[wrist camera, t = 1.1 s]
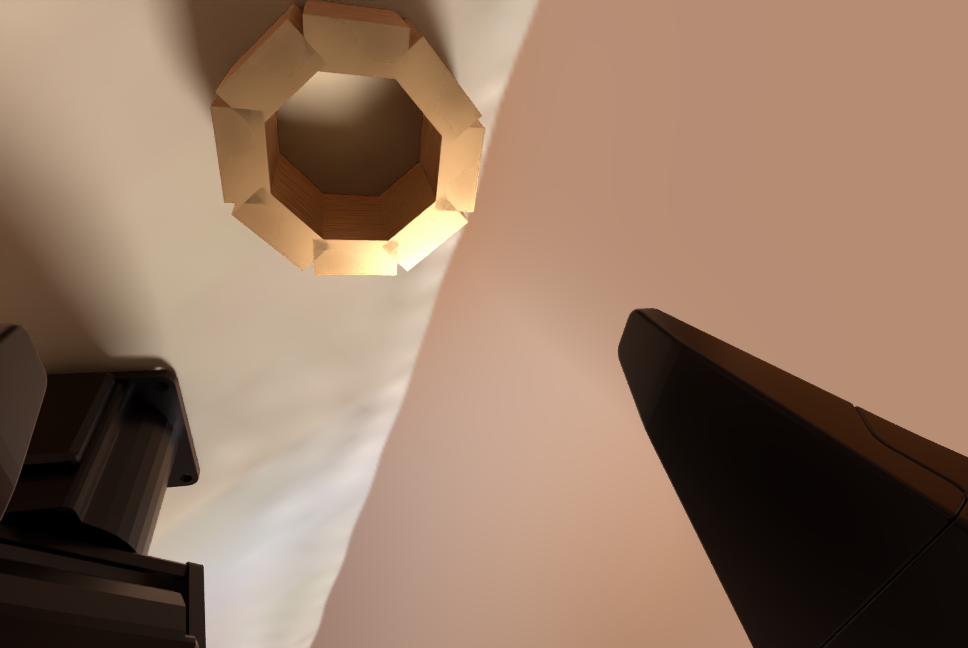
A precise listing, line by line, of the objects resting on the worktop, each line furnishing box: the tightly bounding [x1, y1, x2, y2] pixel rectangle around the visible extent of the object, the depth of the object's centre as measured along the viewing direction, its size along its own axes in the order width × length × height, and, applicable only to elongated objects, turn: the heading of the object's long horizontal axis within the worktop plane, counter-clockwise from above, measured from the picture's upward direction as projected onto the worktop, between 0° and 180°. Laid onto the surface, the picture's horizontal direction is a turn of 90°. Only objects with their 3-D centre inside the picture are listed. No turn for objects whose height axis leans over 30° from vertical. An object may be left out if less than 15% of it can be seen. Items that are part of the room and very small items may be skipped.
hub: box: [211, 0, 485, 275], centre depth 16 cm, size 7×7×4 cm
